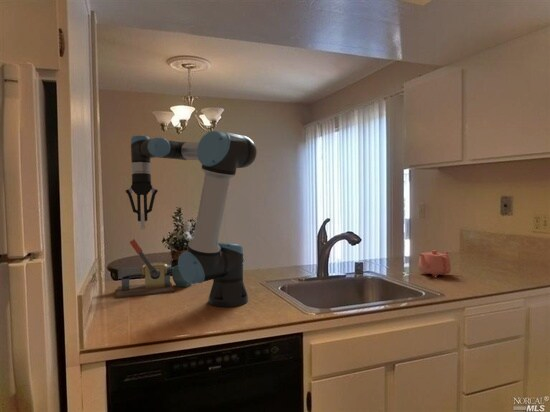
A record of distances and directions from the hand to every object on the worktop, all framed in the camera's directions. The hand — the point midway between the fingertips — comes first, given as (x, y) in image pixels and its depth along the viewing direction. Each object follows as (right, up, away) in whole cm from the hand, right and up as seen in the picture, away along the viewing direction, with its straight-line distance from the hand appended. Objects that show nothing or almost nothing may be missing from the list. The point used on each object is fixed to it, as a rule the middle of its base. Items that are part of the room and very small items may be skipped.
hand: (142, 229), depth 153 cm
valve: (-2, -27, +7) cm, 27 cm away
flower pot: (+14, -27, +14) cm, 34 cm away
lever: (-1, -14, 0) cm, 14 cm away
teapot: (+138, -26, +32) cm, 144 cm away
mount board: (-1, -28, +6) cm, 28 cm away
